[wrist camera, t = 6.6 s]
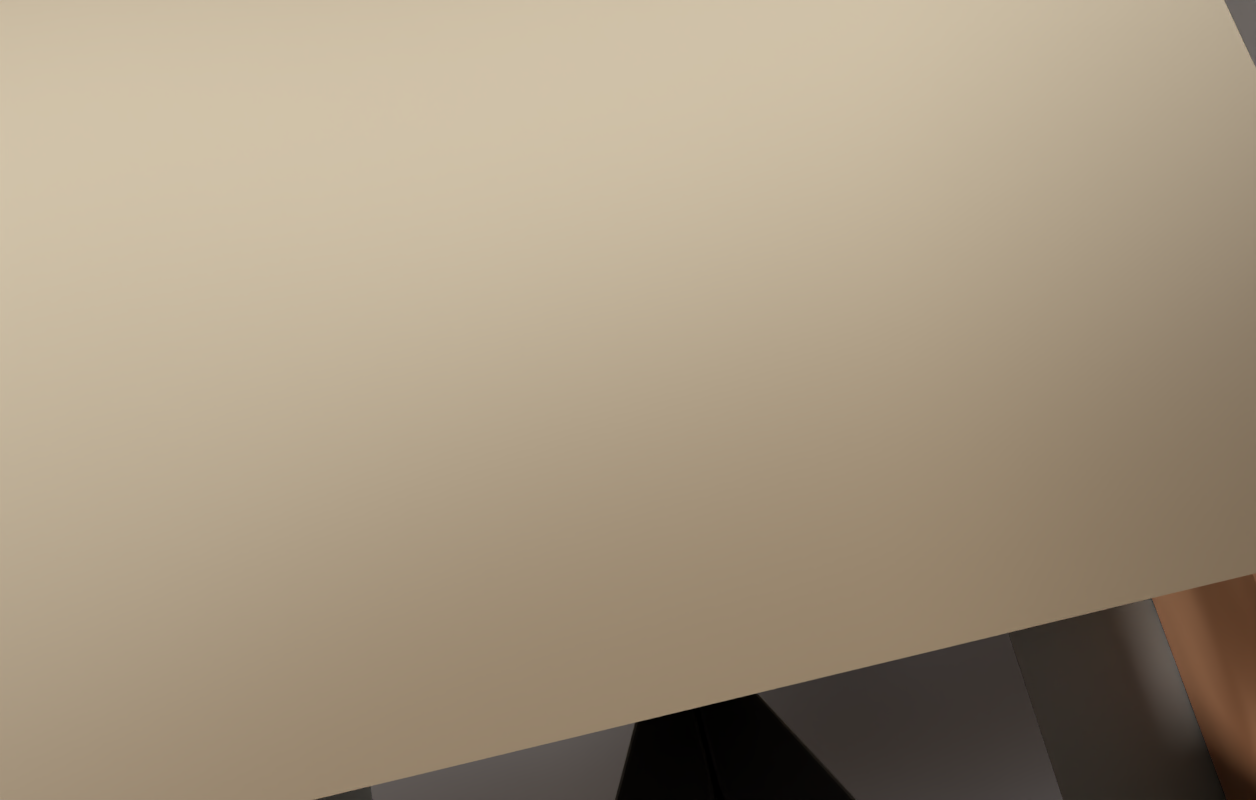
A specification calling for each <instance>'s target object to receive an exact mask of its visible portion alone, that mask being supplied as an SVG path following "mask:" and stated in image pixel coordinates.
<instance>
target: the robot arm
mask: <svg viewBox="0 0 1256 800" xmlns="http://www.w3.org/2000/svg"><path fill="white" fill-rule="evenodd" d="M614 800H856V799H855V798H854V796H853V795H852V794H851V793H850V792H849V791H848V790H847V789H846V788H845V787H844V786H843V785H842V784H841V782H840V781H839V780H838V779H837V778H836V777H835V776H834V775H833V774H832V773H831V772H830V771H829V770H828V768H827V767H826V766H825V765H824V764H823V763H822V762H821V761H820V760H819V759H818V758H817V757H816V755H815V754H814V753H813V752H812V751H811V750H810V749H809V748H808V747H807V746H806V745H805V744H804V743H803V741H802V740H801V739H800V738H799V737H798V736H797V735H796V734H795V733H794V732H793V731H792V730H791V728H790V727H789V726H788V725H787V724H786V723H785V722H784V721H783V720H782V719H781V718H780V717H779V716H778V714H777V713H776V712H775V711H774V710H773V709H772V708H771V707H770V706H769V705H768V704H767V703H766V701H765V700H764V699H763V698H762V697H761V696H760V695H759V694H758V693H756V694H752V695H747V696H743V697H739V698H735V699H731V700H727V701H722V702H718V703H714V704H710V705H706V706H702V707H697V708H693V709H689V710H685V711H681V712H677V713H673V714H668V715H664V716H660V717H656V718H652V719H648V720H643V721H639V722H635V724H634V727H633V731H632V735H631V739H630V743H629V746H628V750H627V754H626V758H625V761H624V765H623V769H622V773H621V776H620V780H619V784H618V788H617V792H616V795H615V799H614Z"/></svg>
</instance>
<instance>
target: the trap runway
mask: <svg viewBox="0 0 1256 800" xmlns="http://www.w3.org/2000/svg"><path fill="white" fill-rule="evenodd" d="M1152 600H1153V603H1154V605H1155V608H1156V611H1157V613H1158V616H1159V619H1160V621H1161V624H1162V627H1163V630H1164V632H1165V635H1166V638H1167V640H1168V643H1169V646H1170V648H1171V651H1172V654H1173V656H1174V659H1175V662H1176V665H1177V667H1178V670H1179V673H1180V675H1181V678H1182V681H1183V683H1184V686H1185V689H1186V692H1187V694H1188V697H1189V700H1190V702H1191V705H1192V708H1193V710H1194V713H1195V716H1196V719H1197V721H1198V724H1199V727H1200V729H1201V732H1202V735H1203V737H1204V740H1205V743H1206V745H1207V748H1208V751H1209V754H1210V756H1211V759H1212V762H1213V764H1214V767H1215V770H1216V772H1217V775H1218V778H1219V781H1220V783H1221V786H1222V789H1223V791H1224V794H1225V797H1226V799H1227V800H1256V573H1255V574H1250V575H1246V576H1242V577H1238V578H1234V579H1230V580H1226V581H1221V582H1217V583H1213V584H1209V585H1205V586H1201V587H1196V588H1192V589H1188V590H1184V591H1180V592H1176V593H1171V594H1167V595H1163V596H1159V597H1155V598H1152ZM758 694H759V695H760V696H761V697H762V698H763V699H764V700H765V701H766V703H767V704H768V705H769V706H770V707H771V708H772V709H773V710H774V711H775V712H776V713H777V714H778V716H779V717H780V718H781V719H782V720H783V721H784V722H785V723H786V724H787V725H788V726H789V727H790V728H791V730H792V731H793V732H794V733H795V734H796V735H797V736H798V737H799V738H800V739H801V740H802V741H803V743H804V744H805V745H806V746H807V747H808V748H809V749H810V750H811V751H812V752H813V753H814V754H815V755H816V757H817V758H818V759H819V760H820V761H821V762H822V763H823V764H824V765H825V766H826V767H827V768H828V770H829V771H830V772H831V773H832V774H833V775H834V776H835V777H836V778H837V779H838V780H839V781H840V782H841V784H842V785H843V786H844V787H845V788H846V789H847V790H848V791H849V792H850V793H851V794H852V795H853V796H854V798H855V799H856V800H1063V798H1062V795H1061V792H1060V789H1059V786H1058V783H1057V780H1056V777H1055V774H1054V771H1053V768H1052V765H1051V762H1050V759H1049V756H1048V752H1047V749H1046V746H1045V743H1044V740H1043V737H1042V734H1041V731H1040V728H1039V725H1038V722H1037V719H1036V716H1035V713H1034V710H1033V707H1032V704H1031V701H1030V698H1029V695H1028V692H1027V688H1026V685H1025V682H1024V679H1023V676H1022V673H1021V670H1020V667H1019V664H1018V661H1017V658H1016V655H1015V652H1014V649H1013V646H1012V643H1011V640H1010V637H1009V634H1008V633H1005V634H1001V635H997V636H993V637H989V638H984V639H980V640H976V641H972V642H968V643H964V644H959V645H955V646H951V647H947V648H943V649H939V650H934V651H930V652H926V653H922V654H918V655H914V656H910V657H905V658H901V659H897V660H893V661H889V662H885V663H880V664H876V665H872V666H868V667H864V668H860V669H855V670H851V671H847V672H843V673H839V674H835V675H831V676H826V677H822V678H818V679H814V680H810V681H806V682H801V683H797V684H793V685H789V686H785V687H781V688H776V689H772V690H768V691H764V692H760V693H758ZM634 724H635V723H631V724H627V725H623V726H618V727H614V728H610V729H606V730H602V731H598V732H594V733H589V734H585V735H581V736H577V737H573V738H569V739H564V740H560V741H556V742H552V743H548V744H544V745H539V746H535V747H531V748H527V749H523V750H519V751H515V752H510V753H506V754H502V755H498V756H494V757H490V758H485V759H481V760H477V761H473V762H469V763H465V764H460V765H456V766H452V767H448V768H444V769H440V770H436V771H431V772H427V773H423V774H419V775H415V776H411V777H406V778H402V779H398V780H394V781H390V782H386V783H382V784H377V785H373V786H370V787H371V794H372V800H614V799H615V795H616V792H617V788H618V784H619V780H620V776H621V773H622V769H623V765H624V761H625V758H626V754H627V750H628V746H629V743H630V739H631V735H632V731H633V727H634Z"/></svg>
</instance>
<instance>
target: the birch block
mask: <svg viewBox="0 0 1256 800" xmlns="http://www.w3.org/2000/svg"><path fill="white" fill-rule="evenodd" d="M1255 573H1256V67H1255V65H1254V63H1253V61H1252V59H1251V57H1250V55H1249V52H1248V50H1247V48H1246V46H1245V44H1244V42H1243V40H1242V37H1241V35H1240V33H1239V31H1238V29H1237V27H1236V25H1235V22H1234V20H1233V18H1232V16H1231V14H1230V12H1229V10H1228V8H1227V5H1226V3H1225V1H1224V0H0V800H315V799H319V798H323V797H327V796H332V795H336V794H340V793H344V792H348V791H352V790H357V789H361V788H365V787H369V786H373V785H377V784H382V783H386V782H390V781H394V780H398V779H402V778H406V777H411V776H415V775H419V774H423V773H427V772H431V771H436V770H440V769H444V768H448V767H452V766H456V765H460V764H465V763H469V762H473V761H477V760H481V759H485V758H490V757H494V756H498V755H502V754H506V753H510V752H515V751H519V750H523V749H527V748H531V747H535V746H539V745H544V744H548V743H552V742H556V741H560V740H564V739H569V738H573V737H577V736H581V735H585V734H589V733H594V732H598V731H602V730H606V729H610V728H614V727H618V726H623V725H627V724H631V723H635V722H639V721H643V720H648V719H652V718H656V717H660V716H664V715H668V714H673V713H677V712H681V711H685V710H689V709H693V708H697V707H702V706H706V705H710V704H714V703H718V702H722V701H727V700H731V699H735V698H739V697H743V696H747V695H752V694H756V693H760V692H764V691H768V690H772V689H776V688H781V687H785V686H789V685H793V684H797V683H801V682H806V681H810V680H814V679H818V678H822V677H826V676H831V675H835V674H839V673H843V672H847V671H851V670H855V669H860V668H864V667H868V666H872V665H876V664H880V663H885V662H889V661H893V660H897V659H901V658H905V657H910V656H914V655H918V654H922V653H926V652H930V651H934V650H939V649H943V648H947V647H951V646H955V645H959V644H964V643H968V642H972V641H976V640H980V639H984V638H989V637H993V636H997V635H1001V634H1005V633H1009V632H1013V631H1018V630H1022V629H1026V628H1030V627H1034V626H1038V625H1043V624H1047V623H1051V622H1055V621H1059V620H1063V619H1068V618H1072V617H1076V616H1080V615H1084V614H1088V613H1092V612H1097V611H1101V610H1105V609H1109V608H1113V607H1117V606H1122V605H1126V604H1130V603H1134V602H1138V601H1142V600H1147V599H1151V598H1155V597H1159V596H1163V595H1167V594H1171V593H1176V592H1180V591H1184V590H1188V589H1192V588H1196V587H1201V586H1205V585H1209V584H1213V583H1217V582H1221V581H1226V580H1230V579H1234V578H1238V577H1242V576H1246V575H1250V574H1255Z"/></svg>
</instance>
